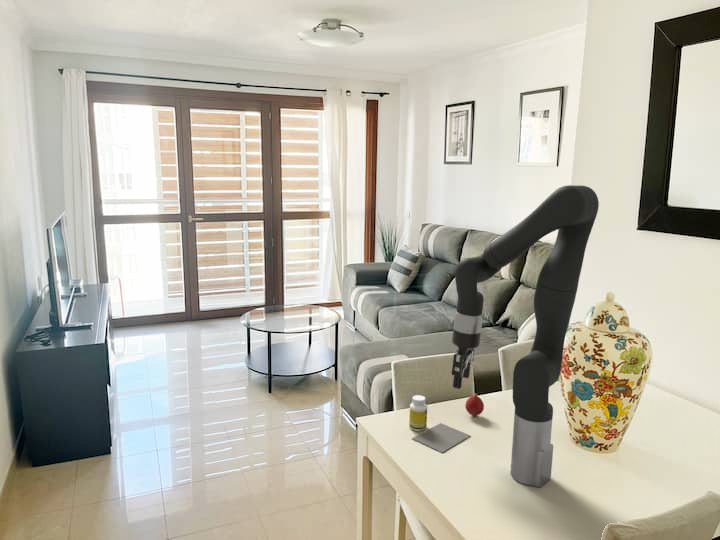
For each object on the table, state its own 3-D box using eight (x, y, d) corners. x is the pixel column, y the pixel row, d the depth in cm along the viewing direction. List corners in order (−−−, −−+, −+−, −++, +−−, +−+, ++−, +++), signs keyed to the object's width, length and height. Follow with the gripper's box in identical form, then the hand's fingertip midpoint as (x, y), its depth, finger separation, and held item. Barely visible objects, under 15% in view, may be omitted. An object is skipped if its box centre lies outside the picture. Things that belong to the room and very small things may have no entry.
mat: (470, 436, 157) (470, 435, 157) (442, 453, 147) (442, 452, 147) (440, 423, 165) (440, 423, 165) (412, 439, 155) (412, 438, 155)
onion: (461, 414, 171) (462, 391, 170) (475, 411, 174) (476, 388, 172) (472, 422, 166) (473, 398, 165) (486, 418, 169) (488, 395, 167)
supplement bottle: (427, 431, 160) (428, 401, 158) (409, 431, 160) (410, 401, 158) (425, 423, 165) (426, 394, 163) (408, 423, 165) (409, 393, 163)
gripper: (474, 338, 137) (467, 395, 141) (486, 324, 150) (480, 376, 153) (446, 332, 140) (440, 388, 144) (461, 319, 153) (455, 370, 156)
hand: (461, 382), depth 149 cm, fingers open, 8 cm apart
